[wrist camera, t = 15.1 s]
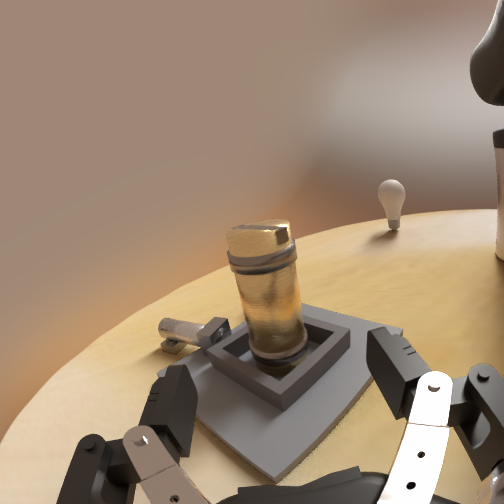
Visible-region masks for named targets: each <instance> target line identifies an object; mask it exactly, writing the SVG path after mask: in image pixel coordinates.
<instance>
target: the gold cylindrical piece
mask: <svg viewBox="0 0 504 504" xmlns="http://www.w3.org/2000/svg"><path fill="white" fill-rule="evenodd" d="M226 237H227V242H228V246H229V250H228V252H227V254H228V258H229V263H230V268H231V270H232V271H233V272H234V273H235V277H236V282H237V286H238V290H239V295H240V299H241V303H242V307H243V312H244V316H245V320H246V324H247V328H248V333H249V340H248V343H249V347H250V351H251V355H252V357H253V358H254V360H255V361H256V365H257V368H258V369H259V370H260V371H262V372H264V373H266V374H267V375H269V376H274V377H280V376H286V375H288V374H289V373H290V372H291V371H292V370H293V369H295V368H296V367H297V366H298V365H299V364H300V363H302V362H303V361H304V360H305V359H306V358H307V349H308V336H307V330H306V328H305V327H304V323H303V315H302V307H301V299H300V292H299V285H298V278H297V271H296V264H295V261H296V259H297V252H296V246H295V240H294V239H293V238H291V232H290V226H289V221H287V220H281V219H273V220H263V221H258V222H252V223H248V224H244V225H240V226H237V227H234V228H232V229H231V230H229V231H228V232H227V233H226Z"/></svg>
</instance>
